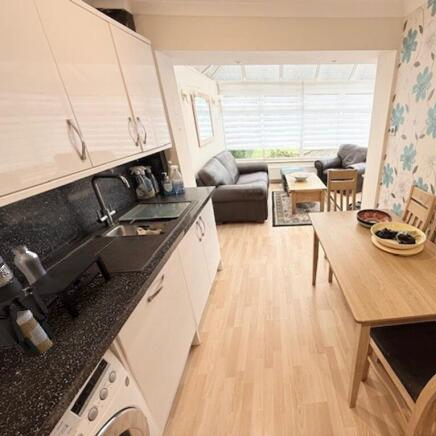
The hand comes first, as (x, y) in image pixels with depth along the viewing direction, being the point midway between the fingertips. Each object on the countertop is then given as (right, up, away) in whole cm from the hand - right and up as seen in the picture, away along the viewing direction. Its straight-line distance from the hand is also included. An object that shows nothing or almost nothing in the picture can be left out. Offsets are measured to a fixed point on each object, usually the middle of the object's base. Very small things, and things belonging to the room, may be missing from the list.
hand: (41, 347), depth 69 cm
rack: (-12, +6, +24) cm, 28 cm away
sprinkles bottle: (0, -1, 0) cm, 1 cm away
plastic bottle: (-32, +8, +32) cm, 45 cm away
